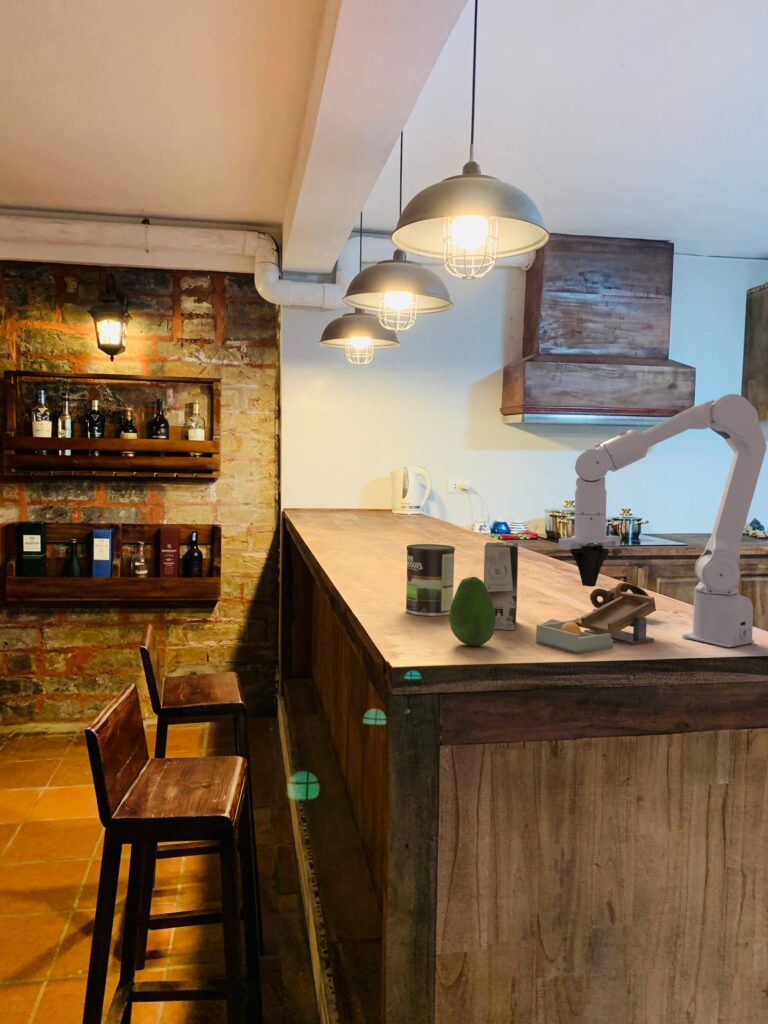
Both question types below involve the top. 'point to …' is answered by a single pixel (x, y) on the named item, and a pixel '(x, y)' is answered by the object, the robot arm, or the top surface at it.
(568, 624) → the ball
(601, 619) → the lever
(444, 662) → the top surface
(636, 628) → the fulcrum
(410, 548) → the coffee can
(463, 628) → the avocado
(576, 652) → the dish
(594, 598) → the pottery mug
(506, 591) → the coffee box
